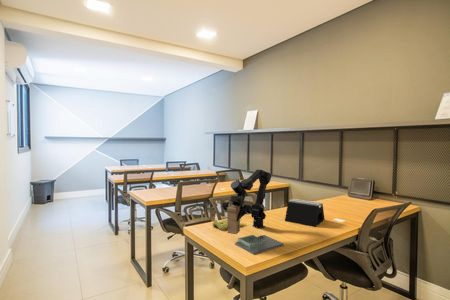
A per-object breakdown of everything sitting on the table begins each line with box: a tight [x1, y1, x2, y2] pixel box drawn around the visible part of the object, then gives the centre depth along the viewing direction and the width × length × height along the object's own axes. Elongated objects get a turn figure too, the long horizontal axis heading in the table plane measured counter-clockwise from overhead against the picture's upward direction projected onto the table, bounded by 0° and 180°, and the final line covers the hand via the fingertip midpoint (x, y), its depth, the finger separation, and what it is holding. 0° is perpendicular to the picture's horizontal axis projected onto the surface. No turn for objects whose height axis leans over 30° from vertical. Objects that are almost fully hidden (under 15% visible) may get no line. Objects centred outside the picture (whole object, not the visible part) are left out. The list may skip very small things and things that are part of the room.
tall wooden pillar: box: [226, 206, 241, 235], centre depth 149 cm, size 6×6×15 cm
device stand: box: [284, 198, 325, 228], centre depth 191 cm, size 22×22×15 cm
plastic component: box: [212, 218, 242, 231], centre depth 178 cm, size 20×7×10 cm
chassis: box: [235, 234, 284, 255], centre depth 144 cm, size 22×16×3 cm
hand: (232, 220), depth 148 cm, fingers closed on tall wooden pillar, 5 cm apart
